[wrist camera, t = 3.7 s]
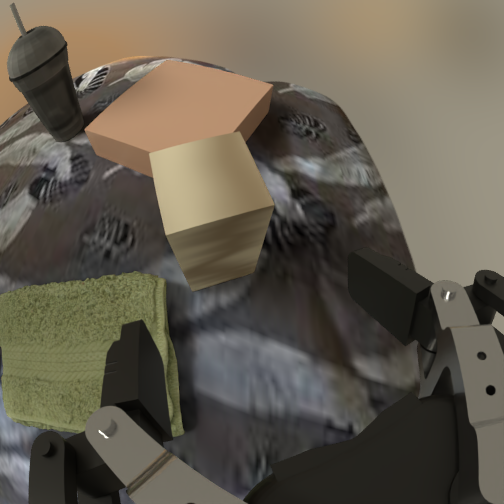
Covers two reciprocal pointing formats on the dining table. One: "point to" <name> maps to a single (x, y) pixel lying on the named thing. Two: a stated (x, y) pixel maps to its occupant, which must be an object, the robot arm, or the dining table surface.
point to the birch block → (212, 207)
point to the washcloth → (76, 346)
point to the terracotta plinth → (177, 112)
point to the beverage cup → (46, 79)
